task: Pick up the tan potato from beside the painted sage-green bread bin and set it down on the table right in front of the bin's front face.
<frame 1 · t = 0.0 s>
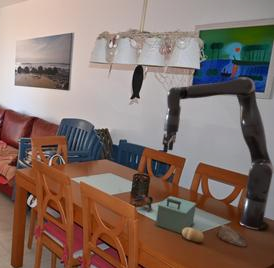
hand: (167, 151, 190), 29 cm above the table, tool pointing down, fingers open, 8 cm apart
oyster shell: (231, 239, 150), on the table
potato: (192, 240, 147), on the table
bread bin: (174, 224, 162), on the table
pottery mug: (143, 208, 180), on the table
bin lid: (177, 201, 160), point 12 cm above the table, hinge at 0.0°
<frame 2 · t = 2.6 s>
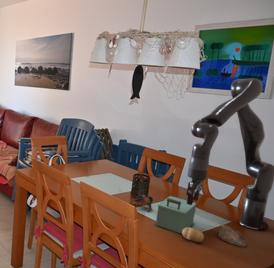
hand: (192, 202, 149), 16 cm above the table, tool pointing down, fingers open, 8 cm apart
nothing on the table moved.
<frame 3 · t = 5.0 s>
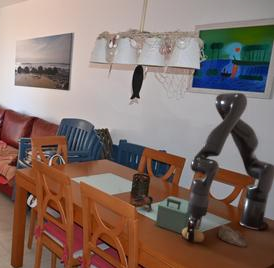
hand: (192, 238, 147), 1 cm above the table, tool pointing down, fingers closed on potato, 5 cm apart
potato: (192, 240, 147), on the table, touching gripper
everything else where it was.
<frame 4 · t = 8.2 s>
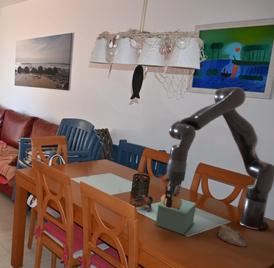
hand: (170, 205, 148), 14 cm above the table, tool pointing down, fingers closed on potato, 5 cm apart
potato: (170, 206, 148), point 13 cm above the table, touching gripper
everything else where it was.
when the fingers open (1 cm above the table, at t = 11.8 s): potato stays where it is, on the table.
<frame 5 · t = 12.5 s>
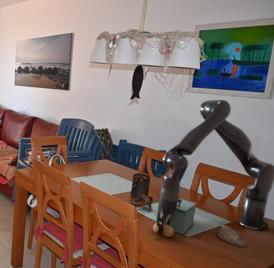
hand: (163, 231, 150), 2 cm above the table, tool pointing down, fingers open, 8 cm apart
potato: (162, 234, 150), on the table
bin lid: (178, 199, 160), point 13 cm above the table, hinge at 3.9°, touching hand
everything else where it was.
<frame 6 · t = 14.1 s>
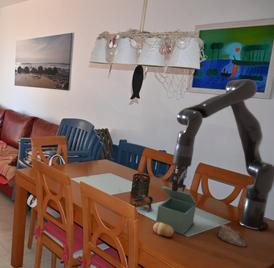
hand: (177, 189, 151), 20 cm above the table, tool pointing down, fingers open, 8 cm apart
bin lid: (180, 191, 161), point 16 cm above the table, hinge at 30.3°, touching gripper
everything else where it was.
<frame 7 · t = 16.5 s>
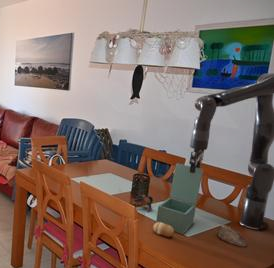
hand: (194, 171, 163), 26 cm above the table, tool pointing down, fingers open, 8 cm apart
bin lid: (187, 182, 168), point 19 cm above the table, hinge at 96.6°
everything else where it was.
at the end: potato inside the target area (1.1 cm from its centre), on the table; the gripper is holding nothing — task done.
